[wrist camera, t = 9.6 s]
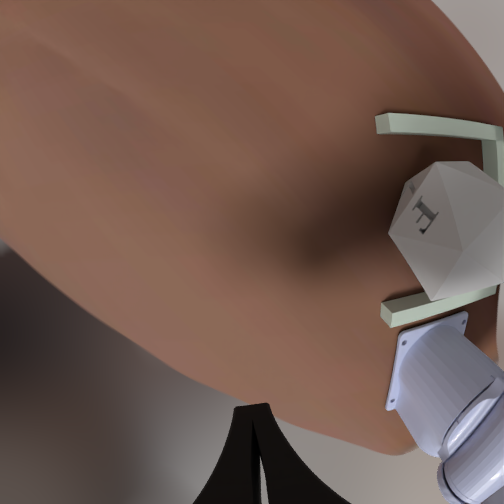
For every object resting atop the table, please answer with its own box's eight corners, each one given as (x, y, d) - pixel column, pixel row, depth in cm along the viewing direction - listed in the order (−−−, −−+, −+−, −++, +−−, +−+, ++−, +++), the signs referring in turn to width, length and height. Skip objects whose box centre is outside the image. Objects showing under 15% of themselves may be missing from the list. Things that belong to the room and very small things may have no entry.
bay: (483, 286, 21) (495, 293, 20) (380, 316, 21) (390, 327, 19) (487, 127, 17) (502, 127, 15) (374, 116, 17) (388, 112, 15)
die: (433, 136, 18) (439, 125, 10) (514, 207, 16) (560, 243, 8) (380, 219, 22) (351, 259, 15) (456, 283, 20) (462, 353, 13)
